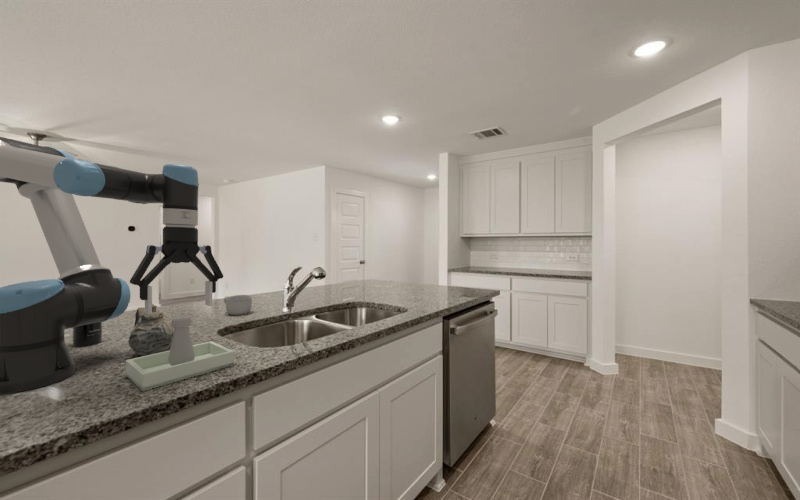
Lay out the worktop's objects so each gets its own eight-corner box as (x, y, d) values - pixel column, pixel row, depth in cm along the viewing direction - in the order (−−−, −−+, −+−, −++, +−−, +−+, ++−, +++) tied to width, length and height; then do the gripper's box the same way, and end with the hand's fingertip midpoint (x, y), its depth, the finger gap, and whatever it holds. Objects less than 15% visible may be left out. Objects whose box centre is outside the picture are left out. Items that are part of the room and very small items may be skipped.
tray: (143, 391, 73) (142, 374, 73) (125, 375, 82) (125, 360, 82) (234, 365, 89) (233, 351, 89) (211, 353, 98) (211, 341, 97)
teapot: (193, 355, 96) (193, 304, 96) (147, 368, 86) (146, 311, 86) (158, 343, 107) (157, 297, 107) (113, 353, 97) (112, 303, 97)
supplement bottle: (96, 345, 104) (95, 308, 104) (68, 348, 102) (67, 309, 101) (106, 339, 110) (105, 304, 110) (79, 341, 108) (79, 305, 108)
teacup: (256, 313, 151) (256, 296, 151) (234, 318, 142) (234, 299, 142) (239, 309, 159) (238, 293, 158) (216, 313, 150) (216, 296, 149)
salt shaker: (162, 371, 82) (161, 319, 82) (178, 362, 88) (177, 314, 88) (185, 371, 82) (185, 320, 82) (199, 363, 88) (199, 314, 88)
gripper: (122, 223, 72) (122, 319, 73) (236, 228, 92) (236, 304, 92) (113, 224, 77) (114, 314, 77) (224, 228, 96) (223, 300, 97)
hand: (180, 308), depth 85 cm, fingers open, 13 cm apart
